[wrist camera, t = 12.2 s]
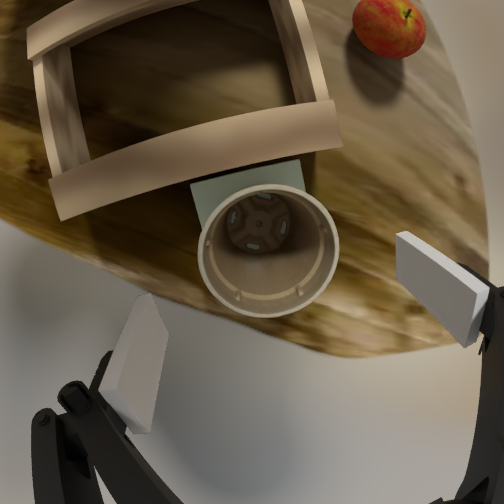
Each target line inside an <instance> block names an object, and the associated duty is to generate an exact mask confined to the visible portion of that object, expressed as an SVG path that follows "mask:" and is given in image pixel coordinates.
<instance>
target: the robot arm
mask: <svg viewBox="0 0 504 504" xmlns="http://www.w3.org/2000/svg"><path fill="white" fill-rule="evenodd" d="M396 279H397V280H398V281H399V282H400V283H401V284H402V285H403V286H404V287H405V288H406V289H407V290H408V291H409V292H410V293H411V294H412V295H413V296H414V297H415V298H416V299H417V300H418V301H419V302H420V303H421V304H422V305H423V306H424V307H425V308H426V309H427V310H428V311H429V312H430V313H431V314H432V315H433V316H434V317H435V318H436V319H437V320H438V321H439V322H440V323H441V324H442V325H443V326H444V327H445V328H446V329H447V330H448V331H449V332H450V334H451V335H452V336H453V337H454V338H455V339H456V340H457V341H458V342H459V343H460V344H461V345H462V347H463V348H466V347H468V346H469V345H471V344H473V343H475V342H476V341H477V337H478V334H479V331H480V332H482V333H483V334H484V337H483V341H482V344H481V347H480V350H479V353H478V354H479V355H480V354H481V351H482V371H481V386H480V397H479V406H478V414H477V421H476V428H475V434H474V439H473V445H472V450H471V454H470V458H469V463H468V467H467V471H466V475H465V477H464V480H463V482H462V484H461V486H460V488H459V490H458V491H457V494H456V496H455V499H454V500H449V501H445V502H443V499H442V498H439V499H437V500H435V501H433V502H432V503H429V504H504V286H503V287H499V288H497V287H495V286H494V285H493V284H492V283H490V282H489V281H488V280H486V279H485V278H484V277H482V276H480V275H479V274H478V273H477V272H474V270H472V269H471V268H469V267H468V266H466V265H463V264H461V263H455V262H454V261H452V260H451V259H449V258H448V257H446V256H445V255H443V254H442V253H440V252H439V251H437V250H436V249H434V248H433V247H431V246H430V245H428V244H427V243H425V242H424V241H422V240H421V239H419V238H418V237H416V236H414V235H413V234H411V233H410V232H408V231H404V232H401V233H397V234H396ZM168 339H169V333H168V331H167V329H166V327H165V324H164V322H163V320H162V318H161V316H160V313H159V311H158V309H157V307H156V304H155V302H154V299H153V297H152V295H151V293H149V294H145V295H141V296H138V297H137V299H136V301H135V303H134V305H133V308H132V310H131V312H130V314H129V317H128V319H127V321H126V323H125V326H124V328H123V330H122V332H121V335H120V337H119V339H118V342H117V344H116V346H115V349H114V350H113V351H108V352H107V353H106V354H105V356H104V357H103V358H102V359H101V361H100V364H99V366H98V369H97V371H96V373H95V374H96V375H95V376H94V378H93V380H92V383H91V385H90V388H89V389H88V388H87V387H86V386H85V384H84V383H83V382H82V381H72V382H70V383H68V384H66V385H65V386H64V387H63V388H62V389H61V390H60V392H59V394H58V397H57V398H58V402H59V403H60V404H61V405H62V407H64V409H65V410H66V411H67V413H64V414H61V415H57V414H56V413H55V412H54V411H53V410H52V409H50V408H45V409H42V410H40V411H38V412H37V413H36V414H35V416H34V418H33V419H32V425H31V457H32V477H33V488H34V499H35V504H104V502H103V499H102V495H101V492H100V488H99V485H98V481H97V477H96V473H95V469H94V466H95V468H96V470H97V472H98V474H99V475H100V477H101V479H102V481H103V482H104V484H105V486H106V487H107V489H108V491H109V492H110V494H111V495H112V497H113V498H114V500H115V501H116V503H117V504H184V503H182V502H181V500H180V499H179V498H178V497H177V496H176V495H175V494H174V493H173V492H172V491H171V490H170V489H169V487H168V486H167V485H166V484H165V483H164V482H163V481H162V479H161V478H160V477H159V476H158V475H157V474H156V472H155V471H154V470H153V469H152V468H151V466H150V465H149V464H148V463H147V461H146V460H145V459H144V458H143V456H142V455H141V454H140V452H139V451H138V450H137V449H136V447H135V446H134V444H133V443H132V442H131V440H130V439H129V438H128V437H127V435H126V434H125V431H126V427H128V428H129V429H130V430H131V431H132V433H133V434H147V433H150V431H151V425H152V419H153V414H154V408H155V402H156V397H157V392H158V386H159V381H160V376H161V371H162V367H163V361H164V357H165V352H166V348H167V343H168Z"/></svg>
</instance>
